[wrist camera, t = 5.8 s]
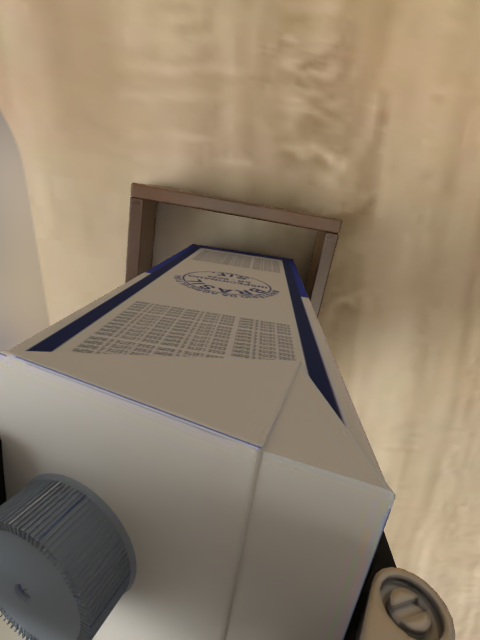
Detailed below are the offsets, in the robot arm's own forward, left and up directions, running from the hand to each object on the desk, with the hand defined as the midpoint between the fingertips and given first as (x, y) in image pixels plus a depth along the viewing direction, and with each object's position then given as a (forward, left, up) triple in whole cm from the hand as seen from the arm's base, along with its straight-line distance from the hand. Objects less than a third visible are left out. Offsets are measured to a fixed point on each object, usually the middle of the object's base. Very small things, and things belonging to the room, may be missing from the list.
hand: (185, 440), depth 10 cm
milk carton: (0, 0, -15) cm, 15 cm away
